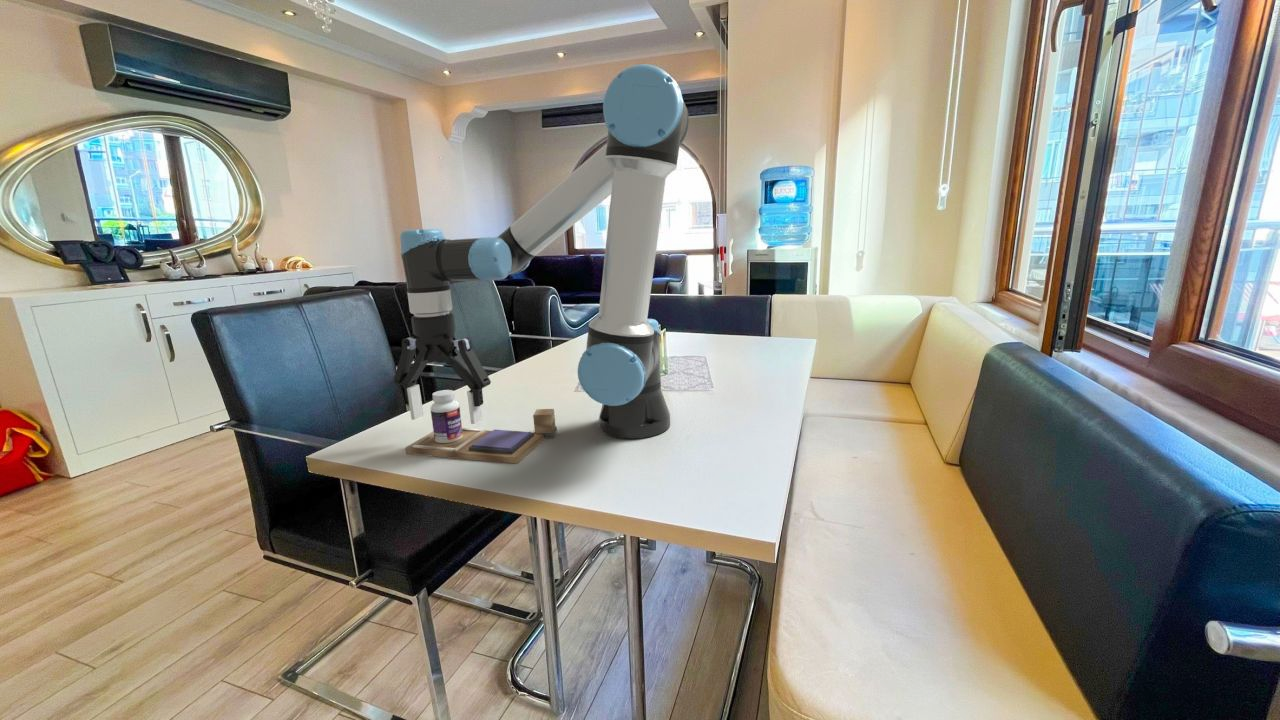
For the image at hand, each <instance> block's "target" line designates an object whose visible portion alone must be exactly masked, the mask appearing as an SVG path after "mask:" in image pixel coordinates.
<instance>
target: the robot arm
mask: <svg viewBox="0 0 1280 720" xmlns="http://www.w3.org/2000/svg"><path fill="white" fill-rule="evenodd" d="M603 97H604V99H603V104H602V110H603V111H602V112H603V118H604V123H605V126H606V128H607V139H606V143H605V144H604V145H602V147H601V148H600V149H597V151H595V153H593V154H592V155H591V156H590V157H589V158H588V159H586V160H585V161H584V162H583V163H582V164H580V165H579V167H577V168H576V169H575V170H574V171H573V172H572V173H570V174H569V175H568V176H566V178H564V179H563V180H561V182H560V183H558V185H556V186H555V187H554V188H553V189H551V190H550V191H549V192H548V193H547V194H546V195H544V196H543V197H542V198H541V199H540V200H539V201H538V202H537V203H535V204H534V205H533V206H532V207H530V208H529V209H528V210H527V211H526V212H525V213H523V214H522V215H521V216H520V217H518V219H517V220H515V221H514V222H513V223H512V224H511V225H510V226H509V227H507V229H505V230H504V231H503V232H502V233H500V234H498V236H496V237H477V238H461V239H459V238H457V239H447V238H446V237H445V234H444V232H443V230H442V229H439V228H424V229H423V228H421V229H405V230H403V231H402V232H401V233H400V235H399V238H400V239H399V240H400V250H401V253H400V257H401V259H402V264H403V265H402V266H403V270H404V271H403V272H404V276H405V277H404V278H405V282H406V290H407V292H406V293H407V300H408V308H409V309H408V310H409V313H410V314H412V315H413V316H412V317H411V318H410V321H411V328H412V334H413V335H414V336H410V337H407V338H403V339H401V353H400V357H399V359H398V363H397V367H396V369H395V370H396V371H395V375H394V378H393V383H394V384H395V385H400V386H402V388H404V390H403V391H404V397H405V401H406V403H408V406H409V411H410V418H411V420H412V421H414V420H415V421H416V420H417V419H419V418H421V417H422V416H424V408H423V403H422V402H423V401H422V394H421V389H420V384H418V382H417V380H418V379H419V377H420V376H421V375H422V373H423V371H424V369H425V367H426V366H427V364H428V363H435V362H436V363H440V364H441V363H445V364H446V365H447V366H450V368H451V369H452V370H453V371H454V372H455V373H456V375H457V376H458V377H459V378H460V379H461V380H462V381H463V382H464V384H465V385H466V386H467V387H468V389H469V390H467V391H466V394H467V401H468V410H469V418H470V419H469V420H470V424H471V425H474V424H477V423H479V422H481V420H483V414H482V405H484V397H483V395H484V394H483V389H484V388H486V387H488V386H489V385H491V383H492V381H491V379H490V377H489V376H488V374H487V372H486V370H485V369H484V367H483V365H482V363H481V361H480V359H479V357H478V356H477V355H476V353H475V350H474V349H473V344H472V340H471V338H470V337H465V338H462V339H456V337H455V332H456V323H455V316H454V314H453V313H452V312H450V311H452V310H453V301H452V294H451V284H450V283H451V282H462V281H463V282H466V281H467V282H468V281H469V282H470V281H473V282H475V281H480V282H481V281H484V282H492V281H493V282H494V281H502V280H505V279H506V278H507V277H508V276H510V275H511V276H512V275H517V274H519V273H520V272H523V271H524V270H526V269H527V268H528V267H529V265H530V263H531V261H532V259H534V258H535V257H536V256H537V255H538V254H539V253H541V252H542V251H544V249H545V248H546V247H548V246H549V245H550V244H552V243H553V242H554V241H555V240H557V239H558V238H559V237H560V236H562V235H563V234H564V233H565V232H567V231H568V230H569V229H570V228H571V227H573V226H574V225H575V224H576V223H577V222H579V221H580V220H581V219H583V218H584V217H585V216H587V214H589V213H590V212H591V211H592V210H593V209H595V208H596V207H597V206H599V204H601V203H602V202H603V201H605V200H606V199H607V198H609V197H610V203H609V211H608V219H607V220H608V222H607V231H606V238H605V239H606V241H605V251H604V259H603V270H602V279H601V288H600V289H601V290H600V297H599V298H600V299H599V306H598V307H599V308H598V314H597V315H596V316H595V317H594V318H593V319H591V320H590V321H589V323H588V329H587V330H588V331H587V339H586V348H585V350H584V352H583V353H582V354H581V357H580V358H579V362H578V365H577V378H578V381H579V385H580V387H581V388H582V390H583V391H584V392H585V393H586V395H587V396H588V397H589V398H591V399H592V400H593V401H595V402H597V403H599V404H602V406H601V409H600V412H599V416H598V417H599V418H598V425H599V430H600V431H601V432H602V434H603V433H604V434H605V435H607V436H610V437H614V438H621V439H642V438H649V437H653V436H657V435H659V434H662V433H664V432H666V431H667V430H669V428H670V427H671V413H670V410H669V408H668V405H667V403H666V400H665V396H664V394H663V391H662V381H661V379H662V378H661V370H662V369H661V346H660V345H661V344H660V343H661V342H660V341H661V339H660V336H661V331H660V325H659V322H658V320H656V319H654V318H648V316H649V309H650V301H651V293H652V285H653V277H654V271H655V263H656V262H655V261H656V256H657V255H656V253H657V249H658V248H657V247H658V239H659V232H660V224H661V216H662V210H663V209H662V208H663V201H664V194H665V186H666V180H667V179H666V178H667V177H668V176H669V175H670V174H671V173H673V171H675V170H676V169H677V168H678V167H677V165H678V158H679V154H680V153H679V151H680V147H681V145H682V144H683V142H684V141H685V138H686V136H687V135H688V130H689V124H690V119H689V117H690V116H689V111H688V108H687V105H686V103H685V101H684V99H683V94H682V90H681V88H680V86H679V85H678V83H677V81H676V80H675V79H674V77H672V76H671V75H670V74H669V73H668V72H666V70H664V69H662V68H660V67H659V66H656V65H654V64H653V65H652V64H648V63H647V64H645V63H642V64H641V63H640V64H635V65H631V66H629V67H627V68H624V69H622V70H621V72H619V73H618V74H617V75H616V76H615V77H614V78H613V79H612V80H611V82H610V83H609V85H608V86H607V89H606V91H605V94H604V96H603ZM445 238H446V239H445ZM416 349H417V350H418V351H419V352H418V353H417V356H416V357H415V354H416ZM458 351H459V352H458ZM414 357H415V359H414ZM413 360H414V362H413Z"/></svg>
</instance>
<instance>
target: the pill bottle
mask: <svg viewBox="0 0 1280 720" xmlns="http://www.w3.org/2000/svg"><path fill="white" fill-rule="evenodd" d="M455 397H456V396H455V392H454V390H452V389H443V390H442V389H441V390H438V391H435V392H433V393H432V401H433V402H434V403H432V404H431V406H430V415H431V422H432V430H433V431H434V438H435V441H436V442H437V443H452V442H455V441H458V440H460V439H461V438H462V437H463V431H462V428H463V424H462V418H461V407H460V403H459V402H458V401H457V400H456V399H455ZM433 431H432V432H433Z"/></svg>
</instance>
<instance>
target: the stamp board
mask: <svg viewBox="0 0 1280 720" xmlns="http://www.w3.org/2000/svg"><path fill="white" fill-rule="evenodd" d="M462 431H463V437H462V438H461V439H460V440H458V441H455V442H452V443H437V442H436V441H435V438H434V431H431V432H430V433H428V434H426V435H425V436H422V437H421V438H419V439H418V440H416V441H414V442H412V443H411V444H409V445H407V446H405V447H404V449H405V453H406V454H409V455H420V456H431V457H443V458H454V459H464V460H473V461H474V460H475V461H484V462H496V463H507V464H516V465H517V464H519V462H521V461H522V460H523V459H524V458H525V457H527V455H528V454H530V452H532V451H534V450H535V449H536V448H537V447H538V446H540V445H541V443H542V442H543V441H544V440H545V438H544V437H543V435H542V434H534V433H535V432H531V431H521V430H520V431H519V430H509V429H508V430H507V429H493V430H486V429H480V428H465V427H462Z"/></svg>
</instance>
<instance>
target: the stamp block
mask: <svg viewBox="0 0 1280 720" xmlns="http://www.w3.org/2000/svg"><path fill="white" fill-rule="evenodd" d="M532 417H533V428H534V432H533V433H534V434H542V435H543V437H544V439H554V438H555V436H556V433H557V431H558V428H557V427H558V426H556V416H555V408H540V409H539V408H536V410H535V412H534V413H533V416H532Z"/></svg>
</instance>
